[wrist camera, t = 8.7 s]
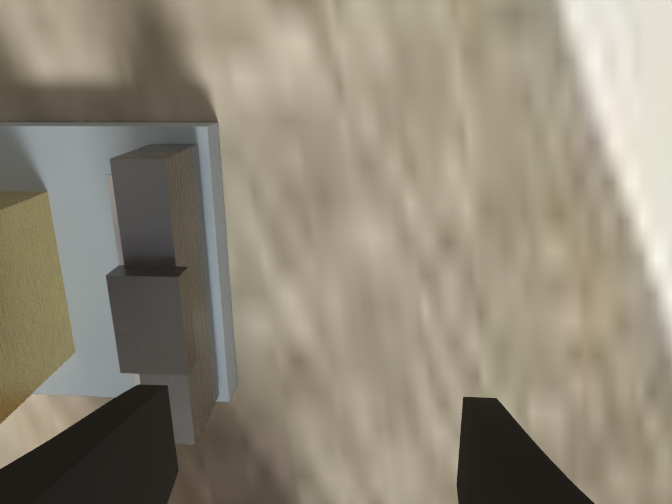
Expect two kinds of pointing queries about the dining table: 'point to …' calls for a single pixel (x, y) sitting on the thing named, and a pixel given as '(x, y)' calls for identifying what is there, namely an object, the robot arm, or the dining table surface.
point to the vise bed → (110, 234)
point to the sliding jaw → (164, 280)
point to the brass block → (29, 299)
